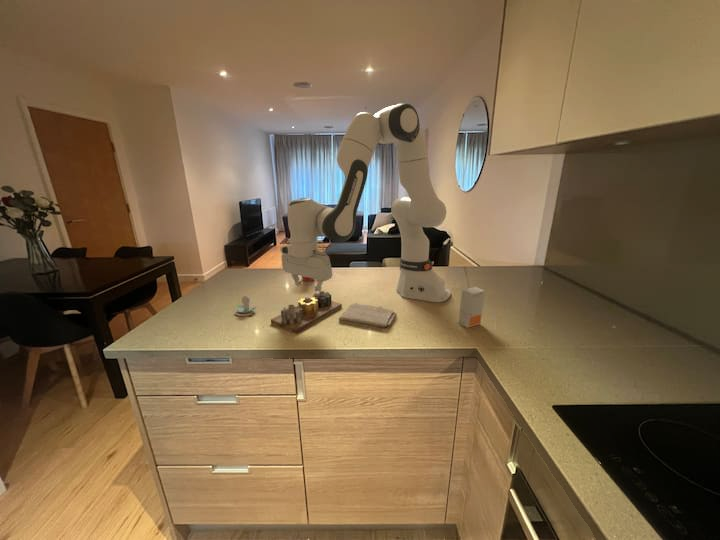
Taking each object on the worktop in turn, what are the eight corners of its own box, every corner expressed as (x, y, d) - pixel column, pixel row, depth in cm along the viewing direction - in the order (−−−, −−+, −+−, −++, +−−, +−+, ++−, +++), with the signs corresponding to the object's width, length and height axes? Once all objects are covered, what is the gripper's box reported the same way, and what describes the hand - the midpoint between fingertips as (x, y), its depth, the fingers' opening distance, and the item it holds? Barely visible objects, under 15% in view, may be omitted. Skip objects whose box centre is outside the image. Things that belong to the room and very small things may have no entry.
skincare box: (467, 328, 93) (472, 294, 89) (457, 323, 96) (461, 289, 93) (481, 324, 95) (485, 290, 92) (471, 319, 99) (475, 286, 95)
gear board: (341, 307, 108) (341, 291, 106) (296, 333, 90) (294, 314, 88) (317, 300, 115) (317, 285, 113) (271, 323, 97) (269, 305, 95)
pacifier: (250, 318, 101) (259, 310, 107) (247, 302, 99) (256, 294, 105) (231, 316, 103) (241, 308, 108) (228, 300, 100) (238, 293, 106)
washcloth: (389, 332, 92) (389, 323, 91) (337, 323, 97) (337, 315, 96) (397, 316, 102) (397, 308, 101) (350, 309, 108) (350, 301, 107)
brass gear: (322, 310, 103) (321, 299, 102) (308, 317, 98) (308, 306, 96) (308, 305, 107) (307, 295, 105) (294, 312, 101) (294, 301, 100)
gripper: (335, 250, 92) (337, 290, 97) (290, 243, 103) (294, 280, 108) (321, 255, 87) (324, 297, 92) (276, 247, 98) (281, 285, 103)
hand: (308, 287), depth 100 cm, fingers open, 8 cm apart
